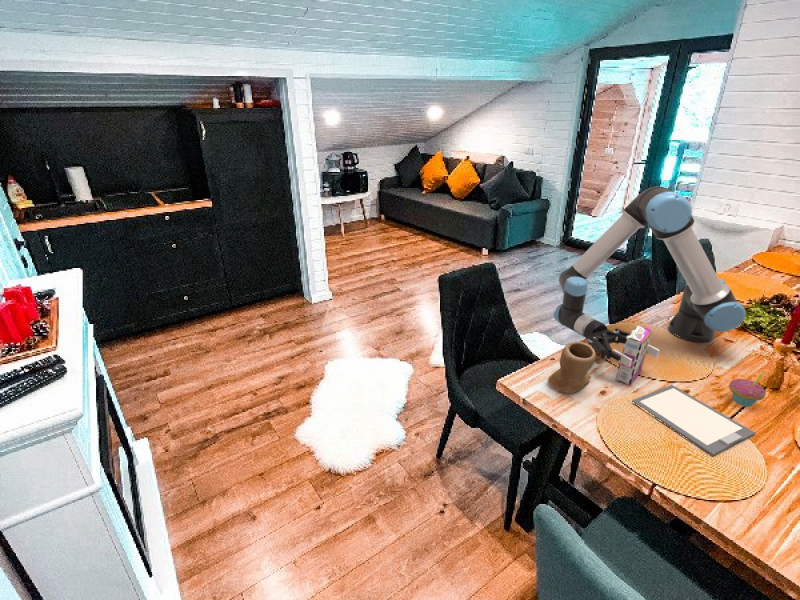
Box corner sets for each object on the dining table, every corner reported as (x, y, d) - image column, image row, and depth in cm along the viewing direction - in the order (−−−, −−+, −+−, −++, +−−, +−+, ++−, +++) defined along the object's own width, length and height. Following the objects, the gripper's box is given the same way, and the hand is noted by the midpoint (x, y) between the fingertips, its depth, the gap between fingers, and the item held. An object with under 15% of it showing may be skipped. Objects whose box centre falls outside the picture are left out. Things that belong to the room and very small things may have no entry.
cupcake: (761, 401, 127) (775, 367, 122) (758, 415, 121) (772, 380, 116) (727, 389, 132) (739, 357, 127) (722, 402, 127) (734, 369, 122)
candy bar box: (631, 386, 135) (642, 342, 128) (614, 380, 138) (625, 337, 131) (642, 371, 142) (653, 329, 135) (626, 366, 145) (636, 324, 138)
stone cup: (576, 402, 128) (584, 360, 122) (542, 384, 137) (548, 344, 130) (601, 382, 137) (609, 343, 130) (567, 367, 145) (574, 329, 139)
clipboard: (671, 386, 134) (672, 382, 133) (754, 435, 114) (756, 430, 113) (631, 402, 127) (632, 398, 127) (712, 456, 108) (714, 451, 107)
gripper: (613, 330, 157) (667, 359, 139) (563, 345, 148) (614, 378, 130) (617, 313, 154) (673, 339, 136) (566, 326, 145) (619, 357, 127)
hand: (644, 358), depth 133 cm, fingers closed on candy bar box, 12 cm apart
